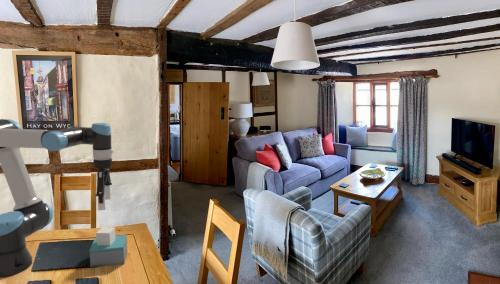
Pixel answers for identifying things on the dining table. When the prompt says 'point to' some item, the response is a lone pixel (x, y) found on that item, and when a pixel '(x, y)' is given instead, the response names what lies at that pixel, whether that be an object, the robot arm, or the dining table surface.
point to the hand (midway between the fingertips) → (104, 204)
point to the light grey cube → (106, 236)
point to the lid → (116, 245)
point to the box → (108, 257)
